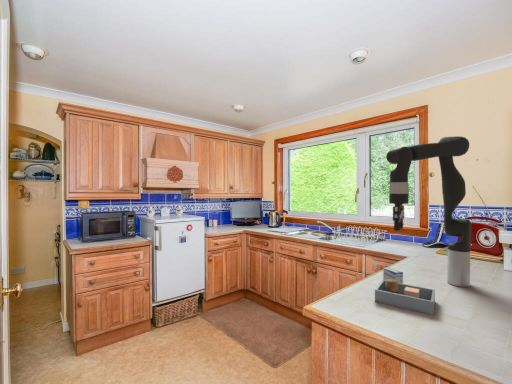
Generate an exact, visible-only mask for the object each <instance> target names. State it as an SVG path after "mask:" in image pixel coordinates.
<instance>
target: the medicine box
mask: <svg viewBox="0 0 512 384" xmlns="http://www.w3.org/2000/svg"><path fill="white" fill-rule="evenodd" d="M382 273H383V275H382V276H383V277H382V278H383V279H382V280H386V279H393V280H397V281H398V283H402V284H404V272H403V271H400V270H397V269H395V268H391V267H384V268H383V271H382Z"/></svg>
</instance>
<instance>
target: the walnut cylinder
mask: <svg viewBox="0 0 512 384" xmlns="http://www.w3.org/2000/svg"><path fill="white" fill-rule="evenodd" d="M385 291H386V292H391V293H396V294H398V281H397V280H393V279H386V280H385Z"/></svg>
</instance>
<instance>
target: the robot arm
mask: <svg viewBox="0 0 512 384" xmlns="http://www.w3.org/2000/svg"><path fill="white" fill-rule="evenodd" d="M469 148H470V141H469V139H468V138H466V137H464V136H459V135H458V136H444V137H440V138H439V140H438V142H432V143H431V142H430V143H429V142H428V143H420V144H413V145H411V146H400V147H396V148H392V149H390V150H389V151H387V153H386V155H385V158H386V161H387V162H388V163H389V164H392V165H395V166H396V167H395V168H393V169H392V170H391V171H390V172H389V187H388V188H389V189H388V191H389V192H388V197H389V198H388V202H389V203H390V204H394V206H392V221H393V230H394V231H396V232H400V231H401V229H403V228H404V220H405V205H407V204H409V203H410V202H409V198H410V197H409V191H410V189H409V172H410V168H411V164H412V162H416V161H421V160H427V159H432V158H438V162H439V166H440V174H441V189H442V190H441V192H442V198H443V199H442V201H443V230H444V234H445V235H446V236H448V237H455V238H457V237H458V238H461V240H459V241H454V242H449V243H448V244H447V263H446V264H447V275H446V276H447V278H446V279H447V280H446V281H447V283H448V284H449V285H453V286H456V287H461V288H470V287H471V237H472V236H471V235H472V222H471V220H470V219H468V218H453V214H454V212H455V211H456V208H458V206H459V205H460V204H461V203H462V201H463V200H464V199H465V197H466V194H467V192H466V181H465V179H464V177H463V176H462V174H461V172H460V171H459V170H458V169H457V167H456V165H455V162H454V157H461V156H464V155H466V154H467V152H468V151H469V150H470V149H469Z"/></svg>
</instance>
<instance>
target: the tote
mask: <svg viewBox="0 0 512 384" xmlns="http://www.w3.org/2000/svg"><path fill="white" fill-rule="evenodd" d="M406 287H410V288H415V289H420V291H419V298H415V297H410V296H406V295H404V290H405V288H406ZM374 302H375V303H378V304H379V303H380V304H384V305H389V306H393V307H398V308H401V309H405V310H410V311H414V312H418V313H422V314H426V315H431V316H434V313H433V312H434V311H435V304H436V303H435V302H436V290H435V289H433V288H428V287H422V286H417V285H412V284H406V283H403V284H402V283H398V294H396V293H391V292H386V291H385V280H383V279H381V281H380V283H378V285H377V286H376V288H375V289H374Z"/></svg>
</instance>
